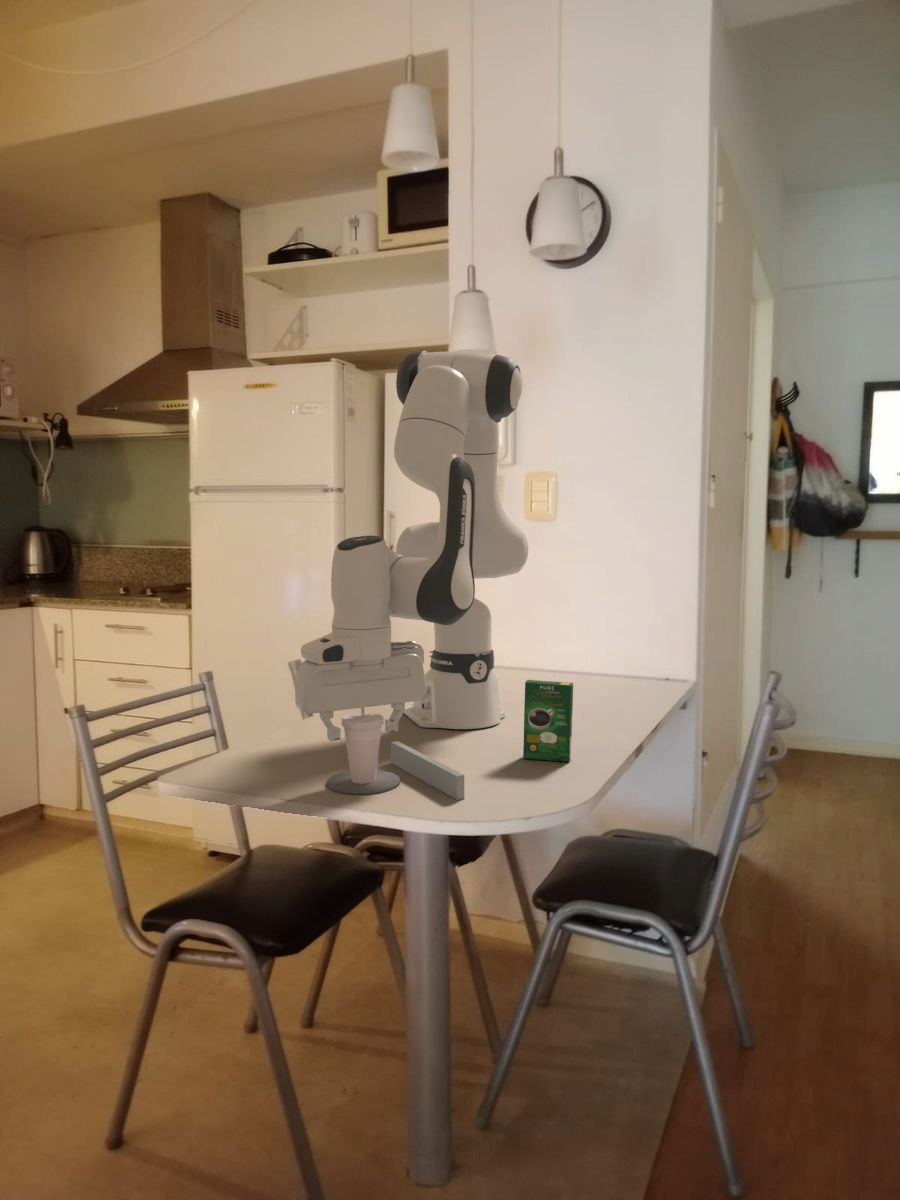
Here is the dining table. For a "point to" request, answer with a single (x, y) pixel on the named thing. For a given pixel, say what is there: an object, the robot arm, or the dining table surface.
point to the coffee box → (548, 720)
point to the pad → (346, 786)
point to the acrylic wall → (428, 770)
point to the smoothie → (363, 744)
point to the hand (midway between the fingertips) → (363, 735)
